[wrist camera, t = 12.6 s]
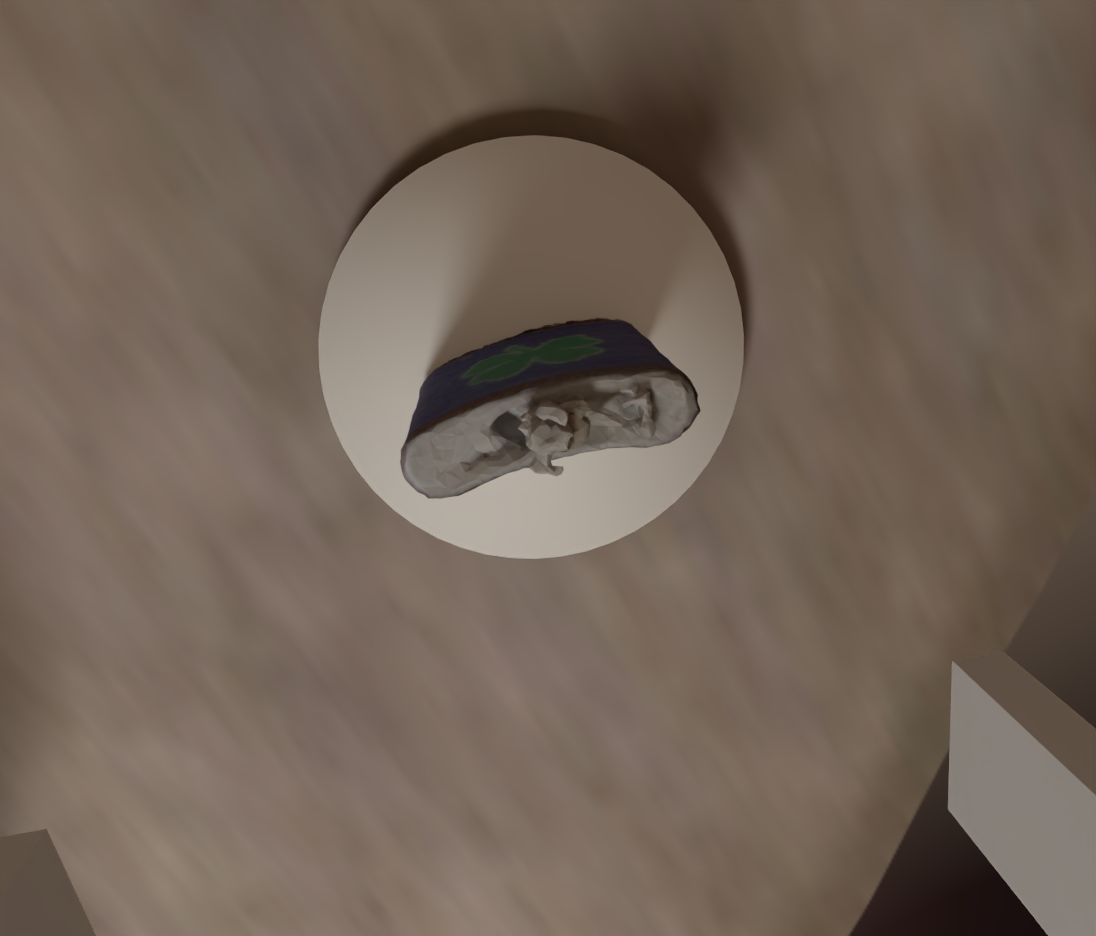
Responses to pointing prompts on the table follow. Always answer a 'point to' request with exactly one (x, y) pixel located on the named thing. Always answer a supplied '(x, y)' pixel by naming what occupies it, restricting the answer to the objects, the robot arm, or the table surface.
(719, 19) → the table surface
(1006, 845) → the robot arm
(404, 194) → the plate
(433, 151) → the table surface
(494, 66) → the table surface
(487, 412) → the blue hip flask
